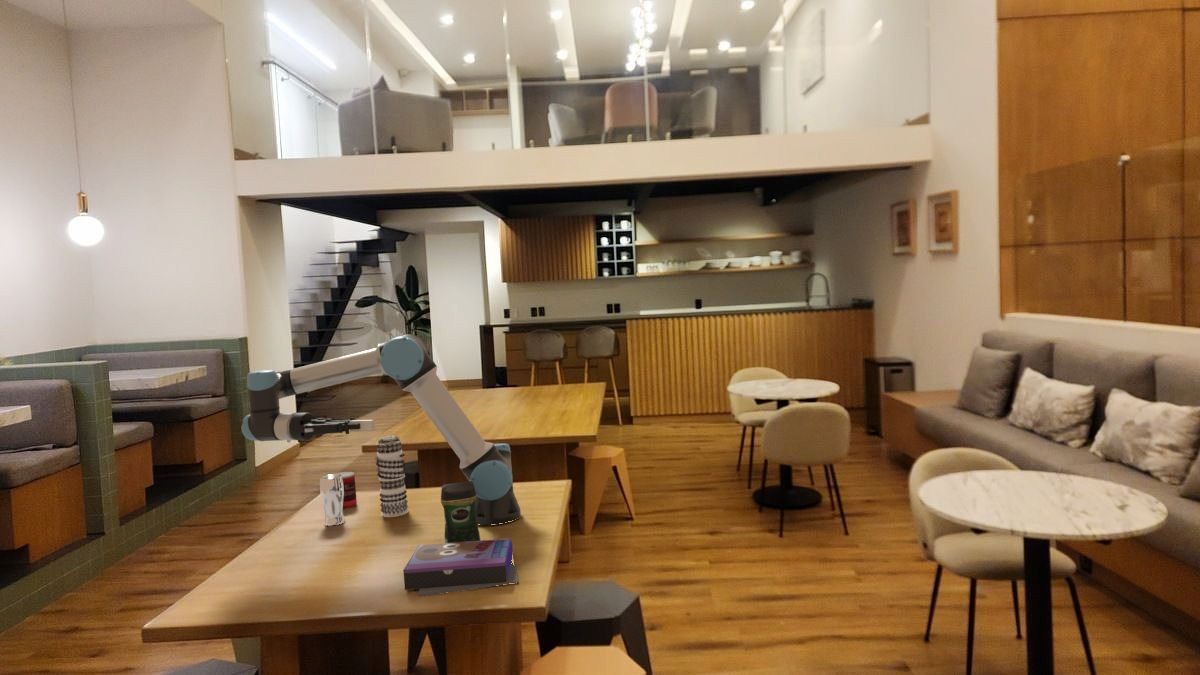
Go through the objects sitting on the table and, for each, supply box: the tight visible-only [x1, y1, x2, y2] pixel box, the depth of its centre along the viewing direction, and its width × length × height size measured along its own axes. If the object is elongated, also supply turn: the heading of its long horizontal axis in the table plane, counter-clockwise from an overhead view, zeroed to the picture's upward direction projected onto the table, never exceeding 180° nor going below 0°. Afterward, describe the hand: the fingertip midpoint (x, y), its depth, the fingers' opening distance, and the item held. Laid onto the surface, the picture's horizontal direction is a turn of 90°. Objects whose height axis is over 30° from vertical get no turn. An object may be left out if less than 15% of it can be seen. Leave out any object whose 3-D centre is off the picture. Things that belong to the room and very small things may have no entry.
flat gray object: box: [417, 561, 519, 597], centre depth 186 cm, size 23×22×1 cm
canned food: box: [335, 471, 358, 510], centre depth 256 cm, size 8×8×11 cm
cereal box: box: [403, 538, 514, 591], centre depth 185 cm, size 17×5×24 cm
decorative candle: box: [375, 435, 409, 518], centre depth 243 cm, size 9×9×25 cm
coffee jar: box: [440, 480, 481, 543], centre depth 203 cm, size 10×8×19 cm
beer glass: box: [319, 473, 346, 527], centre depth 236 cm, size 7×7×15 cm
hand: (372, 425), depth 199 cm, fingers closed
